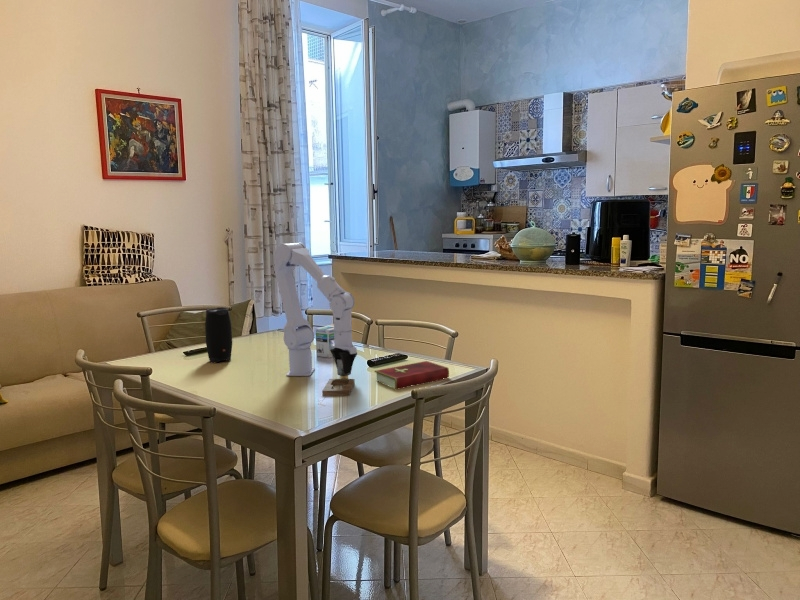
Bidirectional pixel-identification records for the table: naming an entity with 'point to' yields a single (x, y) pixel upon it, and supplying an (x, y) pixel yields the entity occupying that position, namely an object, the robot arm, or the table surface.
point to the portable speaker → (218, 334)
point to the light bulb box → (324, 341)
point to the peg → (341, 369)
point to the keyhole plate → (345, 391)
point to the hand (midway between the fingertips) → (344, 371)
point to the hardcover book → (411, 374)
